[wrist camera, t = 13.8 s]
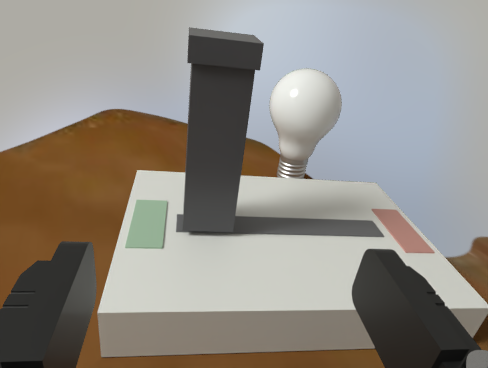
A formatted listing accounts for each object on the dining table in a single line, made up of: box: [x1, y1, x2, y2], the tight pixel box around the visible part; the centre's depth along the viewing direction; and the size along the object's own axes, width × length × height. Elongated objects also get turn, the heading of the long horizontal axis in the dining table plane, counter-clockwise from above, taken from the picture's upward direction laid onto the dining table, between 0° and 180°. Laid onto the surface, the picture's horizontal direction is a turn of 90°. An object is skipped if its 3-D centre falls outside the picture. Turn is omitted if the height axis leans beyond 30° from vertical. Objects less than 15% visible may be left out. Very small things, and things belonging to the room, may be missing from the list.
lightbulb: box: [269, 69, 342, 179], centre depth 34 cm, size 6×6×11 cm
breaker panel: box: [98, 170, 488, 357], centre depth 25 cm, size 20×14×3 cm
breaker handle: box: [183, 28, 263, 232], centre depth 20 cm, size 3×3×11 cm
